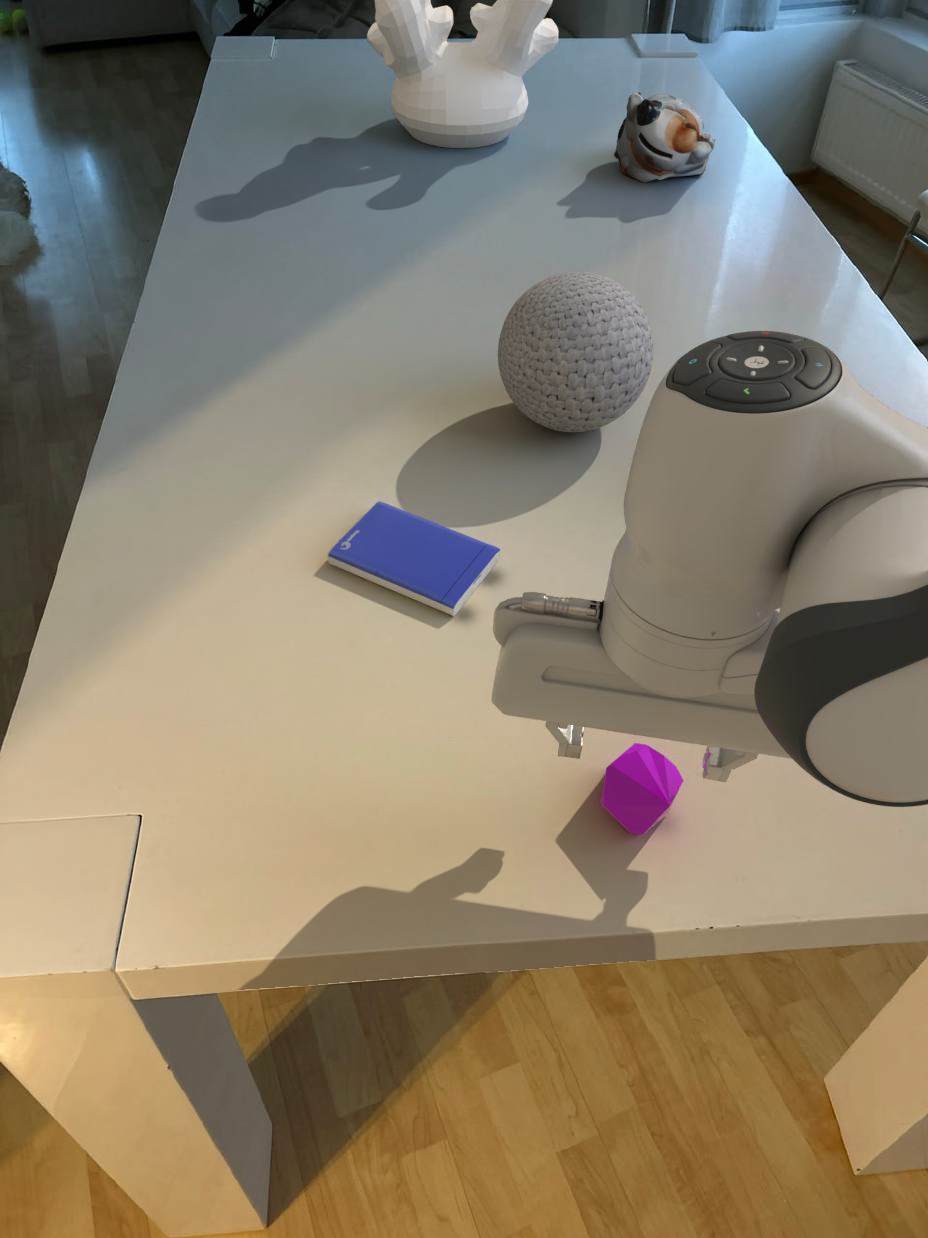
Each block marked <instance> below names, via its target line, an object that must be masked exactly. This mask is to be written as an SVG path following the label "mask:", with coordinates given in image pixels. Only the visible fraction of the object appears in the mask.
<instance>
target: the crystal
mask: <svg viewBox="0 0 928 1238" xmlns="http://www.w3.org/2000/svg"><path fill="white" fill-rule="evenodd" d="M683 783H684V778H683V776H682V774H681V773H680V771H679V769H678V768H677V766H676V764H674V762H672V761H671V759H669V758H668V757H666V756H665V755H664V754H663V753H661V752H659V751H658V750H656V749H654V748H653V747H651V746H649V745H648V744H646V743H639V742H634V743H633V744H632V745H631V746H630V747H629V748H627V749H626V750H625V751H623V753H622V754H621V755H619V756H618V757H616V759H614V760H613V761H612V762H611V763H609V765H608V766H606V768H605V775H604V781H603V787H602V793H601V794H602V795H601V799H600V806H601V807H602V808H604V809H605V811H607V812H608V814H610V815H611V817H613V818H614V819H615V820H616V822H617V823H619V824H620V825H621V826H622V827H623V829H625V830H626V831H627V832H628V833H629V834H631V835H646V834H647V833H648V832H649V831H650V830H651V829H652V828H654V827H655V826H656V825H658V823H660V822H661V821H662V820H663V819H665V817H666V816H668V814H669V813H670V812H671V809H672V807H673V805H674V802H675V800H676V798H677V796H678V793H679V791H680V789H681V786H682V784H683Z"/></svg>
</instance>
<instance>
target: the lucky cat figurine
mask: <svg viewBox="0 0 928 1238" xmlns="http://www.w3.org/2000/svg"><path fill="white" fill-rule="evenodd" d="M628 96H629V97H628V99H627V103H626V115H625V117H624V119H623V121H622V123H621V125H620V126H619V129H618V132H617V139H616V147H615V151H614V153H613V156H614V158H615V159H617V161H618V164H619V167H620V172H621V173H623V174H625V175H627V176H629V177H631V178H633V179H635V180H637V181H639V182H642V183H644V184H645V183H646V184H647V183H649V182H651V181H654V180H658V181H662V180H664V179H667V178H673V177H686V176H695V175H697V176H698V175H704V173H705V171H706V167H707V164H708V162H709V158H710V154H711V153H712V152H713V150H714V148H715V143H716V139H713V137H712V135H711V134H707V133H704V129H705V122H704V120H703V118H702V116H701V115H700V113H699V112H698V111H697V110H696V109H695V108H693V107H691V106H690V104H689V103H688V102H687V101H686V100H684V99H683V98H680V97H677V96H676V95H675V96H674V95H673V94H669V93H667V94H665V93H658V94H657V93H656V94H653V95H651V96H649V97H648V98H645V97H644V96H642V93H641V92H640V91H635V92H633V93H632V94H631V95H628ZM699 172H700V173H699Z"/></svg>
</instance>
